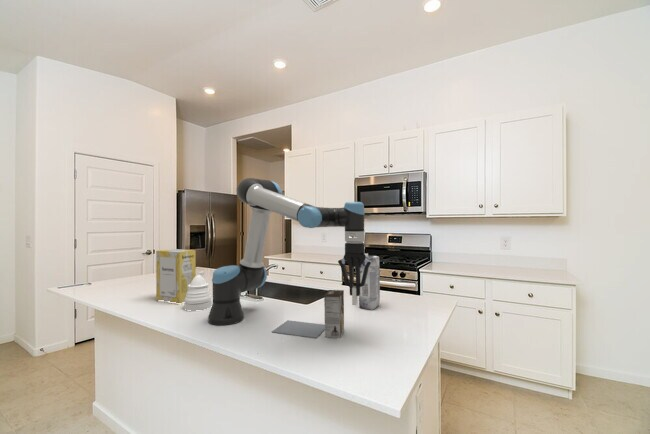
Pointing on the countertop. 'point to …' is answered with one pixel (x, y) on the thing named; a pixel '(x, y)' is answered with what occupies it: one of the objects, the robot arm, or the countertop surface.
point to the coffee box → (334, 313)
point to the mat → (300, 329)
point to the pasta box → (174, 273)
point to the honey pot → (198, 294)
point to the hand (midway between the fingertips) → (355, 304)
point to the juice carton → (370, 284)
